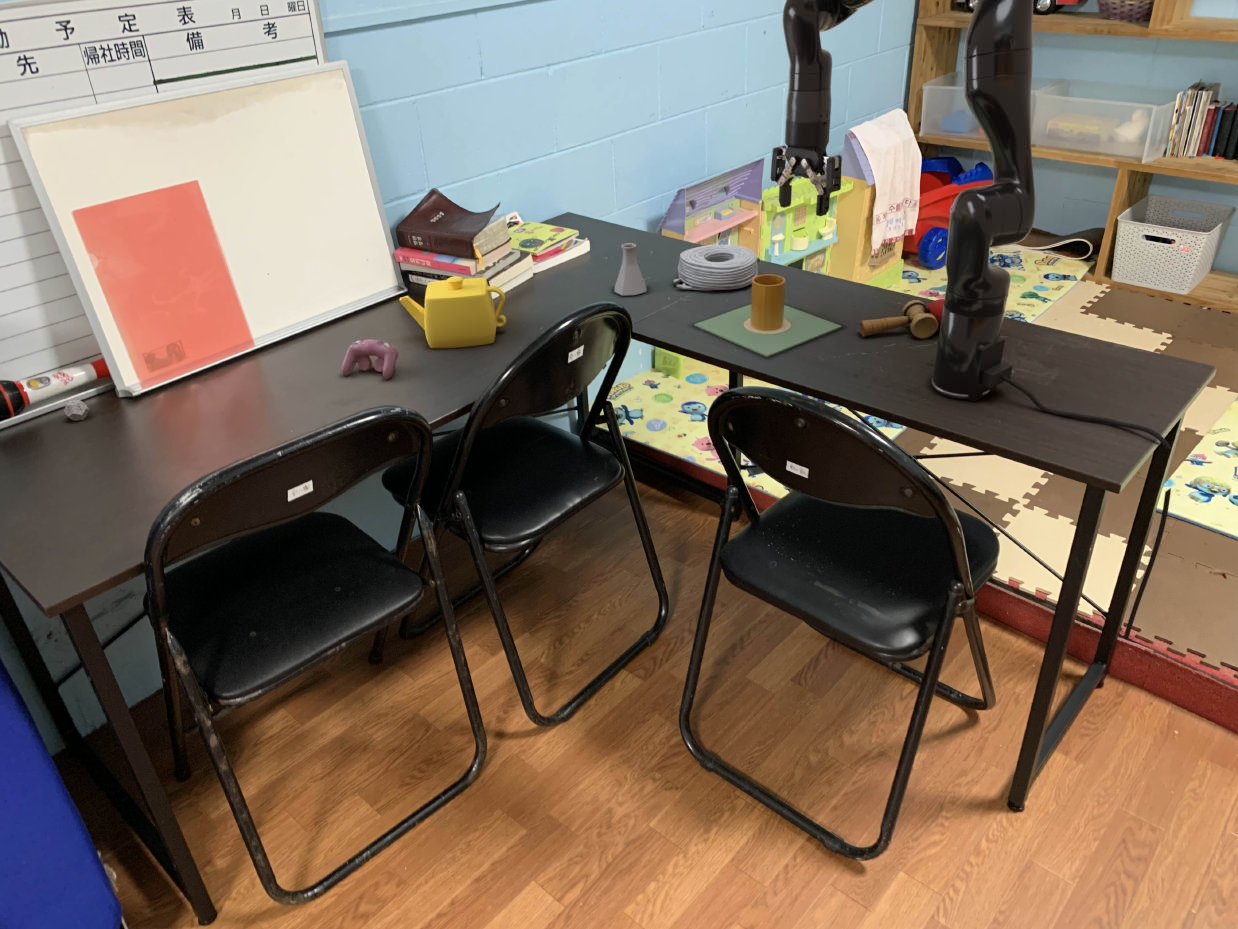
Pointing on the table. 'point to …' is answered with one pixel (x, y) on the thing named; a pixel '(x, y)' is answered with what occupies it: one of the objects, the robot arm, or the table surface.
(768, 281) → the cup
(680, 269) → the cable
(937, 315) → the kendama
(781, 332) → the mat
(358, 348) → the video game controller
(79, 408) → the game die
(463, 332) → the teapot
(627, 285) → the flask
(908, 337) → the table surface
